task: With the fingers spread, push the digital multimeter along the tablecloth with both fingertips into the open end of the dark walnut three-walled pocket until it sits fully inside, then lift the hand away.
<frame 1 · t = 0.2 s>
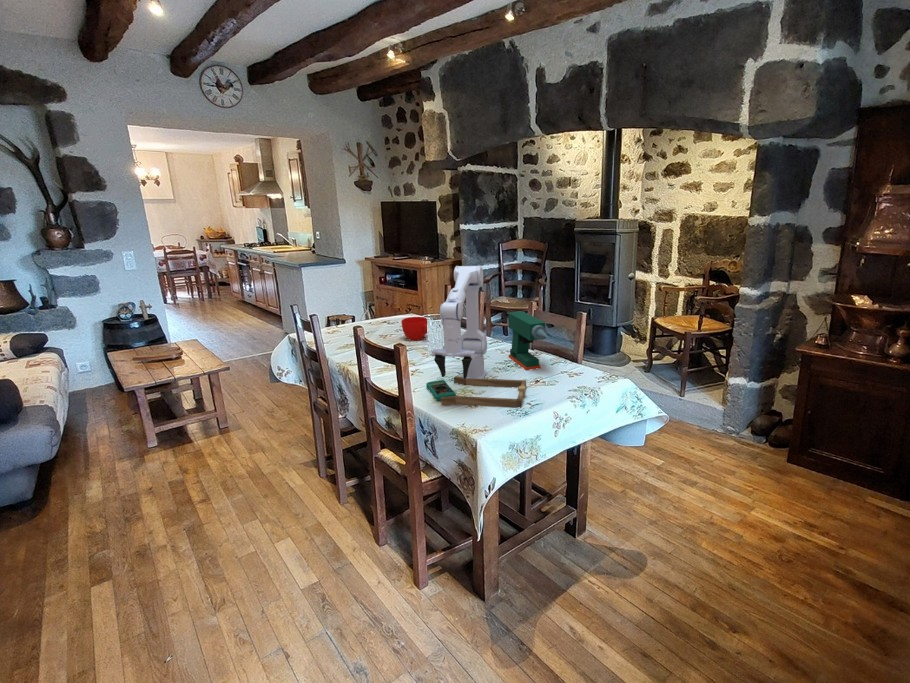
hand: (454, 376, 166), 10 cm above the table, tool pointing down, fingers open, 7 cm apart
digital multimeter: (441, 394, 179), on the table
pocket: (490, 395, 175), on the table
ceramic cup: (418, 340, 247), on the table
power tool: (531, 367, 201), on the table
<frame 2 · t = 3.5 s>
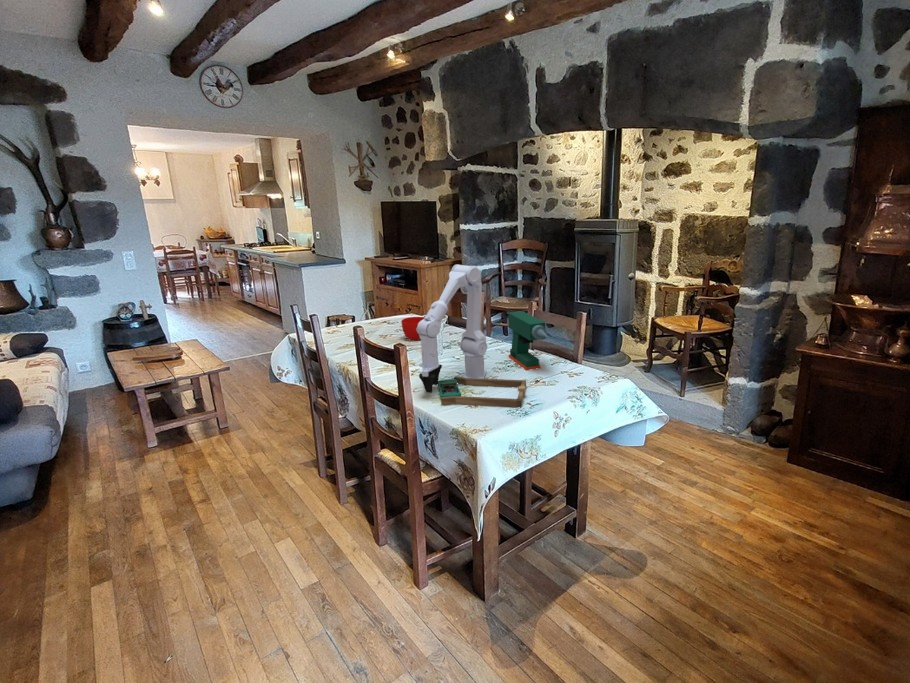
hand: (431, 388, 179), 2 cm above the table, tool pointing down, fingers open, 7 cm apart
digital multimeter: (449, 393, 179), on the table, touching gripper
everything else where it was.
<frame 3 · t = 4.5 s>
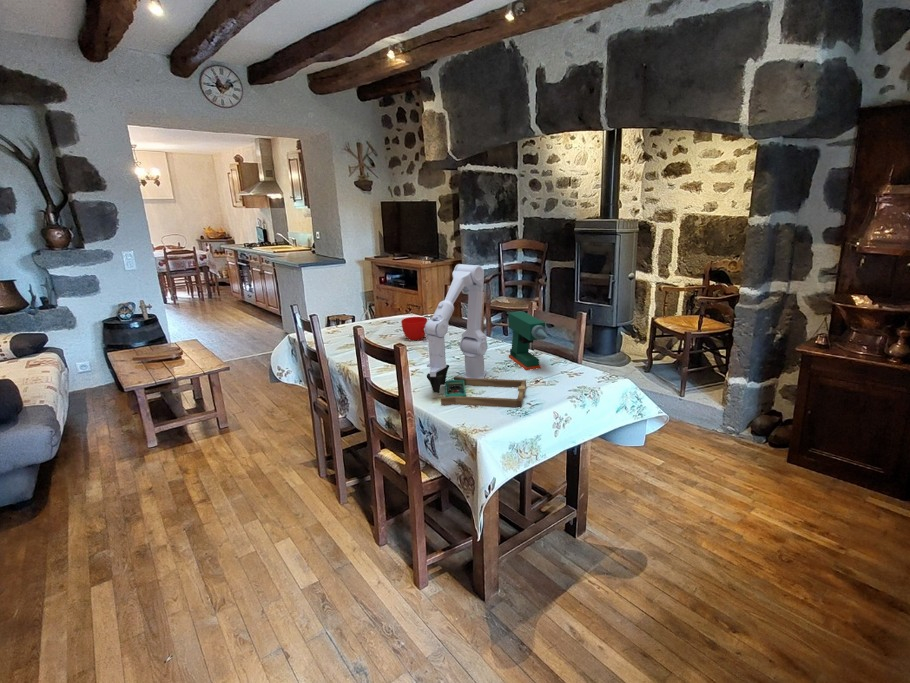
hand: (439, 388, 179), 2 cm above the table, tool pointing down, fingers open, 7 cm apart
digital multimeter: (455, 394, 179), on the table
everything else where it was.
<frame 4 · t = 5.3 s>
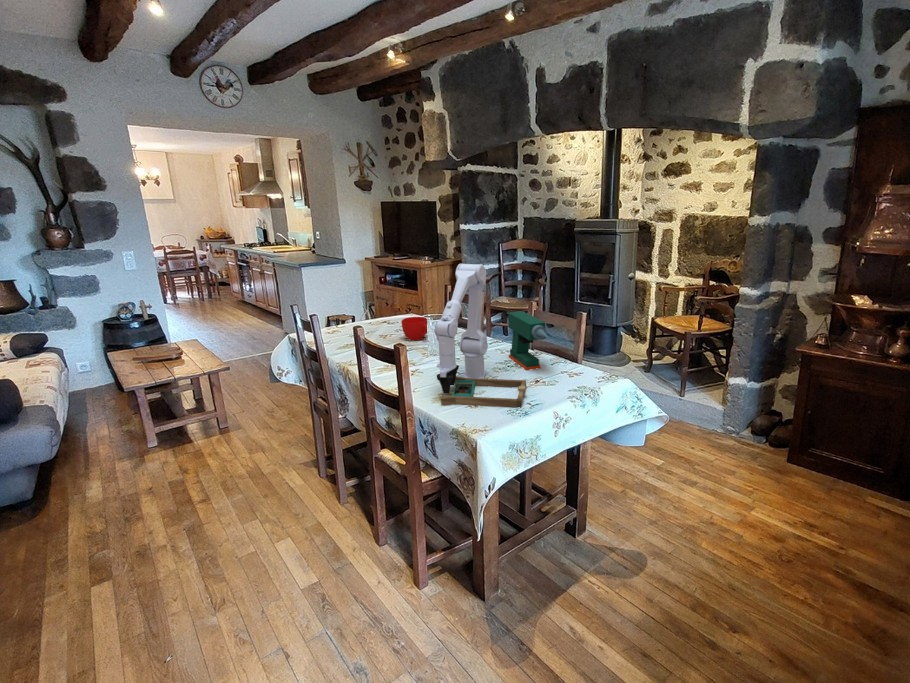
hand: (449, 389, 178), 2 cm above the table, tool pointing down, fingers open, 7 cm apart
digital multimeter: (464, 394, 178), on the table, touching gripper
everything else where it was.
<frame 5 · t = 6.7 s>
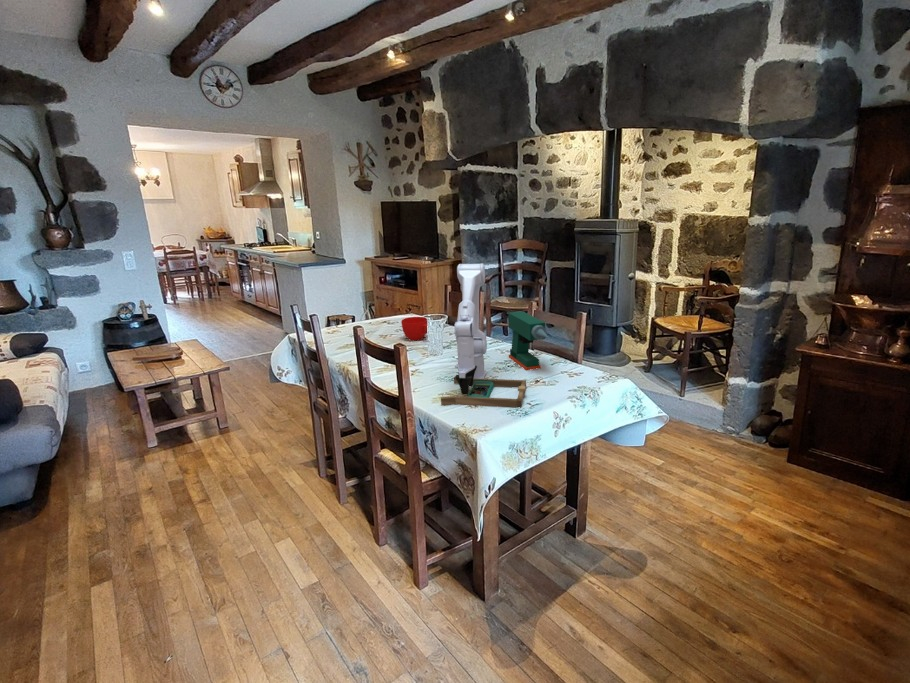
hand: (467, 389, 176), 2 cm above the table, tool pointing down, fingers open, 7 cm apart
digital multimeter: (480, 395, 177), on the table, touching gripper
everything else where it was.
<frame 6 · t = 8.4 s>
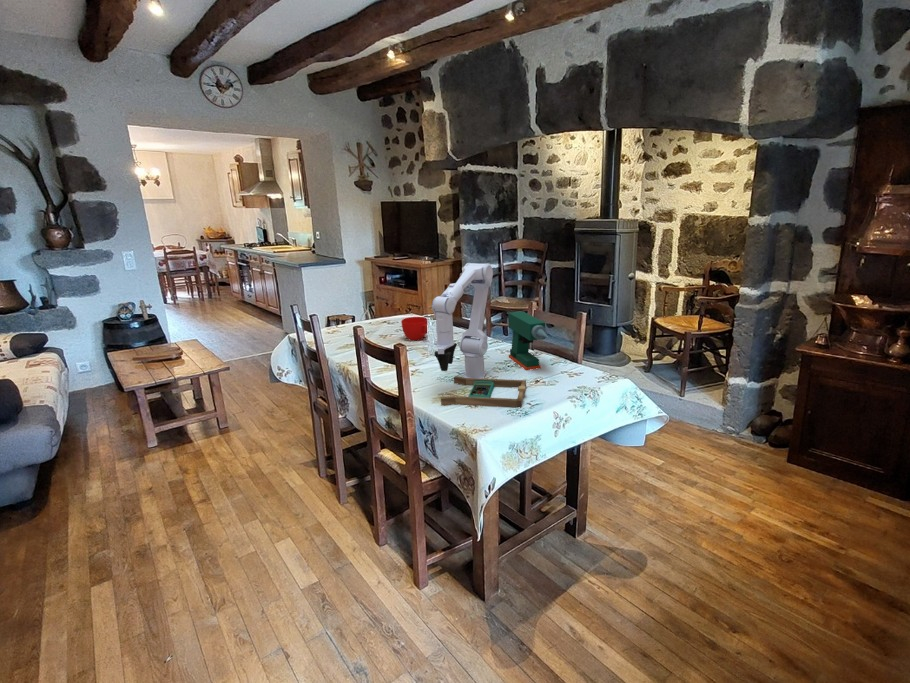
hand: (446, 367, 176), 10 cm above the table, tool pointing down, fingers open, 7 cm apart
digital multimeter: (481, 395, 177), on the table
everything else where it was.
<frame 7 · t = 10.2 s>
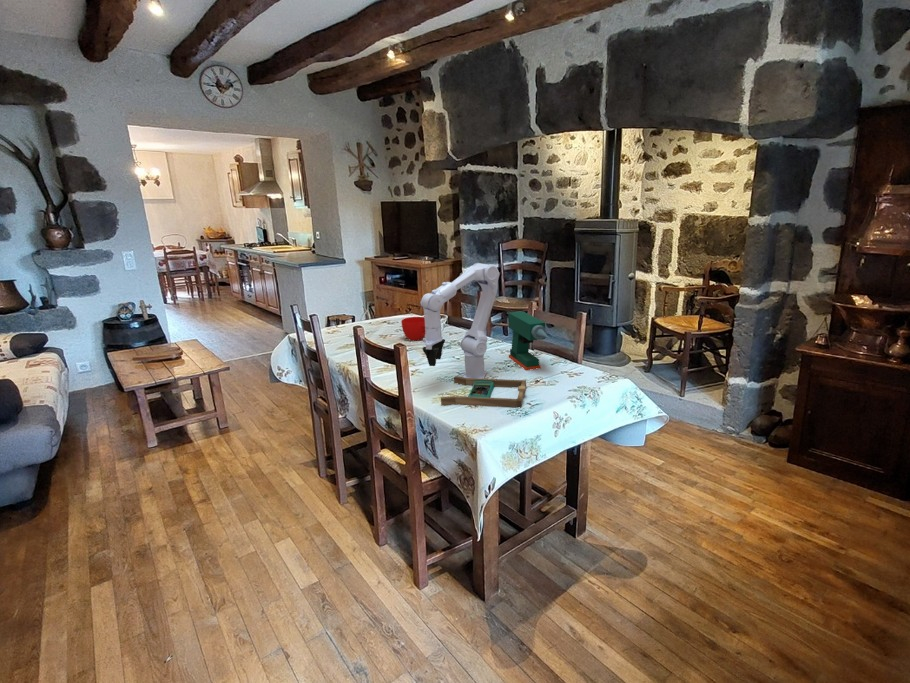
hand: (435, 362, 182), 10 cm above the table, tool pointing down, fingers open, 7 cm apart
nothing on the table moved.
at the end: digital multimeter inside the target area on the pocket (1.4 cm from its centre), point -0.7 cm above the pocket's base; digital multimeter moved 14.8 cm from its start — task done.
